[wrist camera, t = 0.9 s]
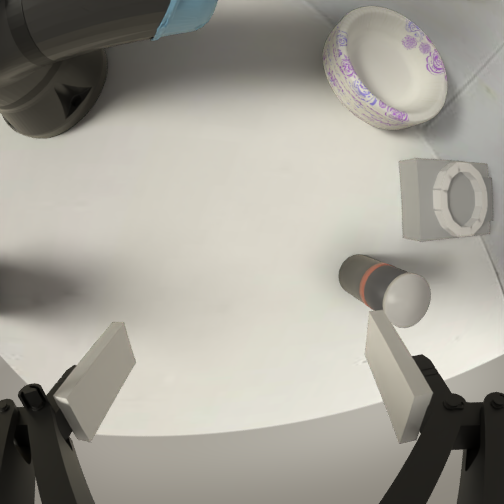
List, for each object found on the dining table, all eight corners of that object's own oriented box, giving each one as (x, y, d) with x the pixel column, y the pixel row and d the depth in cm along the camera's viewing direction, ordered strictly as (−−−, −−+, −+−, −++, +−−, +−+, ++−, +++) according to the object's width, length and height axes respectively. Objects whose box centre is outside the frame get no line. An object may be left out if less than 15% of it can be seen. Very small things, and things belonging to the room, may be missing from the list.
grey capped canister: (337, 255, 38) (387, 278, 26) (374, 251, 39) (432, 271, 27) (338, 297, 39) (385, 332, 27) (374, 291, 40) (428, 322, 28)
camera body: (398, 161, 37) (423, 157, 32) (469, 165, 39) (494, 163, 34) (402, 237, 39) (427, 243, 34) (472, 230, 41) (496, 234, 35)
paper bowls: (429, 81, 36) (463, 66, 28) (387, 158, 37) (423, 151, 29) (346, 13, 33) (370, -16, 26) (290, 83, 34) (310, 56, 26)
